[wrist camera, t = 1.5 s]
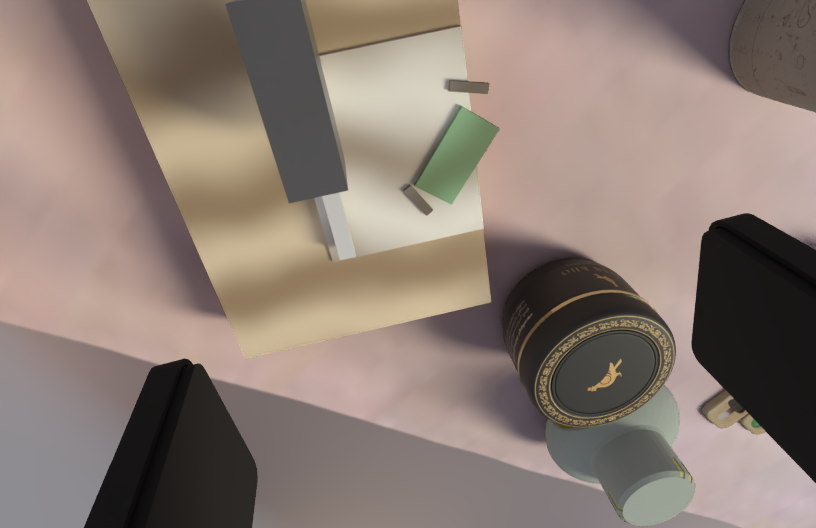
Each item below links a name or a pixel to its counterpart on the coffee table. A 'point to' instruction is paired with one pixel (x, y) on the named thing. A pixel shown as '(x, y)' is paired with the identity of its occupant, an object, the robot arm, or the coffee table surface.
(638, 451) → the pale green rounded vessel
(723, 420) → the pile of dominoes
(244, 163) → the tan flat box
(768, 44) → the thermos bottle
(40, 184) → the coffee table surface
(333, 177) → the peg
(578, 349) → the jar
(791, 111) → the coffee table surface
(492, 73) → the coffee table surface
